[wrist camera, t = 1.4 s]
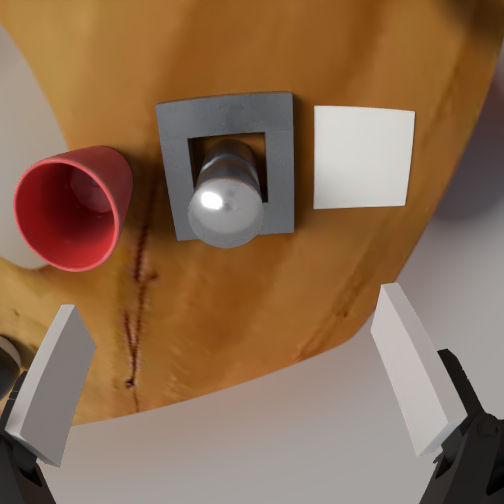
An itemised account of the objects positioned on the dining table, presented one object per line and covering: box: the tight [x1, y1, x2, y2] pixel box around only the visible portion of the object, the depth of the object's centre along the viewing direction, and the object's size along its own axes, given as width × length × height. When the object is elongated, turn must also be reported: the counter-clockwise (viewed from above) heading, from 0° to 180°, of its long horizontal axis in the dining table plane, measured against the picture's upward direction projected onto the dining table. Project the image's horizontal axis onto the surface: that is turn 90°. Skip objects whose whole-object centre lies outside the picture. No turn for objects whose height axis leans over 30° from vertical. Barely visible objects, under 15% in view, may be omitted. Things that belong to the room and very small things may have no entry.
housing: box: [155, 91, 294, 241], centre depth 30 cm, size 14×12×2 cm
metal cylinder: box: [188, 139, 264, 248], centre depth 26 cm, size 5×5×12 cm
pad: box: [313, 106, 415, 209], centre depth 31 cm, size 11×11×1 cm
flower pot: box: [13, 146, 133, 272], centre depth 27 cm, size 11×11×10 cm
